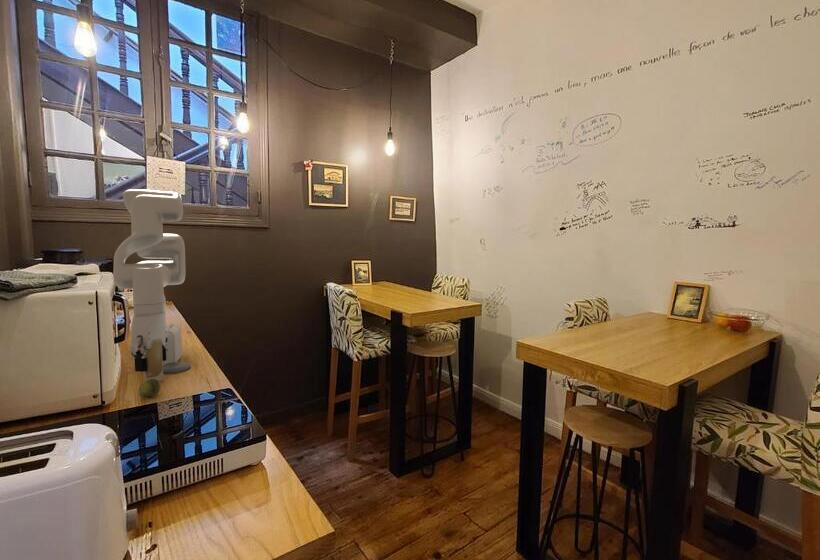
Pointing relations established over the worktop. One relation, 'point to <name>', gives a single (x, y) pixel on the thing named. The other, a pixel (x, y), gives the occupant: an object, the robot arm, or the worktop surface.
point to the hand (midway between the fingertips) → (151, 365)
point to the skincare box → (155, 362)
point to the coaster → (176, 367)
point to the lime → (150, 388)
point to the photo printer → (173, 344)
